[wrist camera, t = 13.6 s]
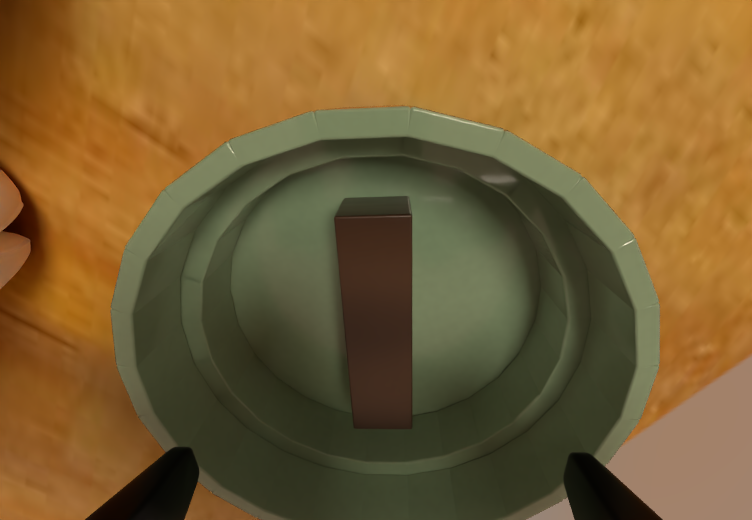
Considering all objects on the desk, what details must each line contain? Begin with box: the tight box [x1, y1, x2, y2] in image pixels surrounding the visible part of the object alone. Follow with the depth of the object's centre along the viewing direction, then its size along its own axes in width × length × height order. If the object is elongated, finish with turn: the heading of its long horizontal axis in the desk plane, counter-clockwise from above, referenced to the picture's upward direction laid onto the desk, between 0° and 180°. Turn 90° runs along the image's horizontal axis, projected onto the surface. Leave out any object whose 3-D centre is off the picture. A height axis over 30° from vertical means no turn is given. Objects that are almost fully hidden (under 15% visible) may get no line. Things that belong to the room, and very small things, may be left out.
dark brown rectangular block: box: [334, 196, 412, 429], centre depth 14 cm, size 9×2×2 cm, turn 2°
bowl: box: [111, 105, 660, 520], centre depth 13 cm, size 15×15×6 cm
